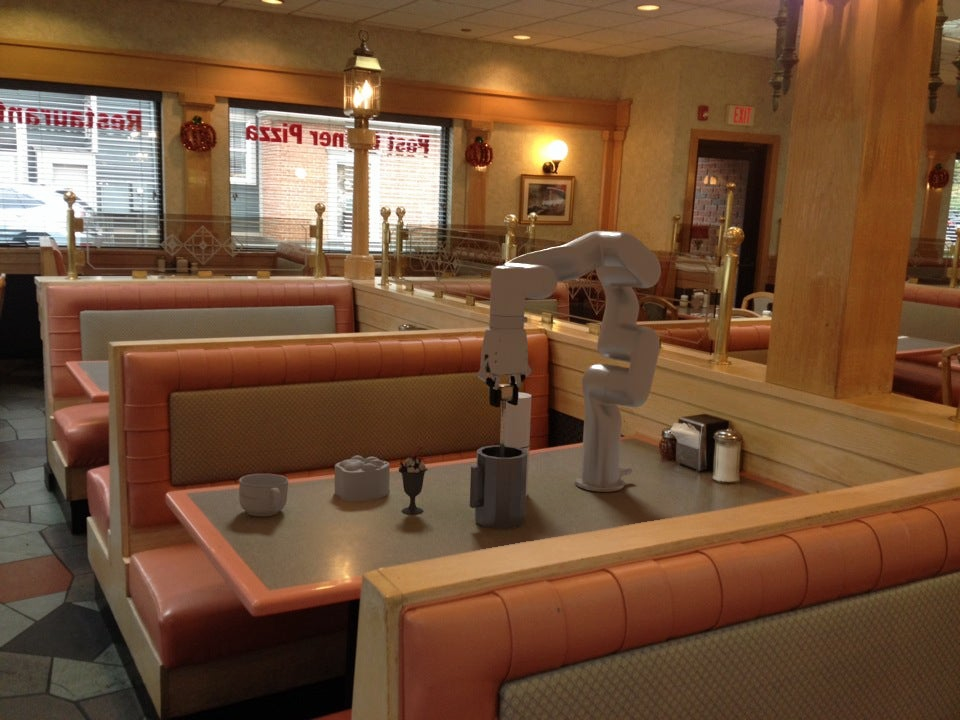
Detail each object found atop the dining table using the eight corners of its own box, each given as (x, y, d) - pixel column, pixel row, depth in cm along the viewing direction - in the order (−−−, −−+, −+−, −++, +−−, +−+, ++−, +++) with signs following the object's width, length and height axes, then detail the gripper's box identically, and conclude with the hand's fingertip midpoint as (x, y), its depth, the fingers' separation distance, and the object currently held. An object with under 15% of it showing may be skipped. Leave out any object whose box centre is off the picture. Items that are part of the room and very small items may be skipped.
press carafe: (505, 509, 204) (507, 443, 202) (533, 523, 195) (536, 454, 193) (457, 518, 197) (459, 450, 194) (484, 534, 188) (487, 462, 185)
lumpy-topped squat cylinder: (330, 491, 214) (330, 456, 213) (379, 484, 221) (379, 451, 219) (346, 503, 205) (347, 468, 204) (397, 496, 212) (397, 461, 210)
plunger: (504, 472, 200) (508, 381, 197) (524, 481, 194) (528, 387, 191) (477, 476, 196) (480, 384, 193) (496, 486, 190) (500, 390, 187)
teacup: (236, 507, 200) (235, 473, 199) (283, 502, 204) (283, 469, 203) (245, 527, 188) (244, 492, 186) (295, 522, 192) (295, 487, 191)
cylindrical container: (525, 499, 212) (529, 399, 208) (496, 496, 213) (499, 396, 209) (529, 490, 219) (533, 393, 215) (501, 488, 220) (504, 391, 216)
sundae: (431, 508, 203) (432, 446, 201) (420, 517, 197) (421, 453, 195) (405, 504, 205) (406, 443, 203) (393, 513, 199) (394, 450, 197)
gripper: (527, 319, 197) (523, 398, 200) (465, 322, 188) (462, 405, 191) (547, 323, 191) (544, 405, 194) (484, 326, 182) (481, 412, 185)
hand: (503, 404), depth 192 cm, fingers closed on plunger, 4 cm apart
